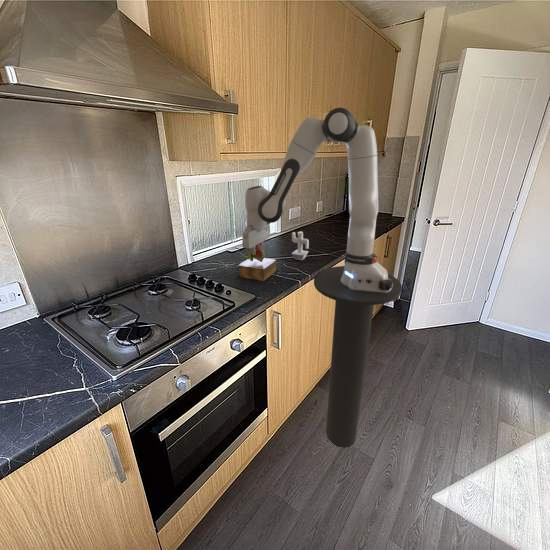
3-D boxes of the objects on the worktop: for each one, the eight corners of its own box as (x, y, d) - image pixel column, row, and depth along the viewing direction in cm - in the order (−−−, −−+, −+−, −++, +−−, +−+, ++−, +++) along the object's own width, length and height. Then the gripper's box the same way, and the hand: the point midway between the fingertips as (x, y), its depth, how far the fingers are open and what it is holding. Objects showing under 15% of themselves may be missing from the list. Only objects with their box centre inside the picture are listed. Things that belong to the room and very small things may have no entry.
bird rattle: (264, 264, 141) (251, 254, 144) (272, 245, 135) (258, 235, 139) (256, 267, 136) (243, 257, 140) (264, 247, 130) (250, 237, 134)
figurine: (305, 262, 156) (306, 234, 150) (289, 259, 160) (289, 232, 154) (310, 257, 162) (311, 231, 156) (294, 255, 166) (295, 229, 160)
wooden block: (276, 271, 145) (276, 259, 143) (264, 281, 134) (263, 269, 131) (252, 267, 150) (252, 256, 148) (238, 276, 139) (237, 265, 137)
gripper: (250, 229, 122) (252, 260, 128) (271, 219, 139) (272, 247, 145) (237, 228, 125) (239, 258, 130) (260, 218, 142) (261, 245, 147)
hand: (257, 252), depth 138 cm, fingers closed on bird rattle, 4 cm apart
